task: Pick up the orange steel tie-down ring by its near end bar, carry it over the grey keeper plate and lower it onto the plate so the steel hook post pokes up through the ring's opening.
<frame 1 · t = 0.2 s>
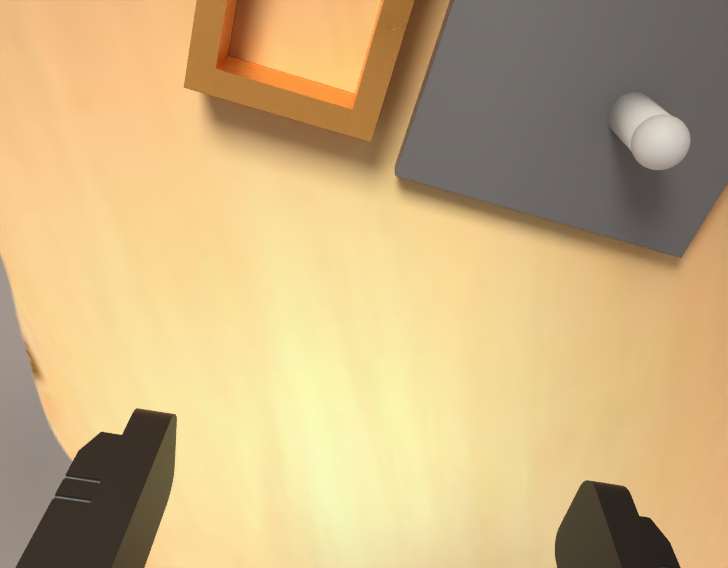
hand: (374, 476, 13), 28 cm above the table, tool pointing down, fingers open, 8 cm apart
keeper plate: (589, 95, 37), on the table
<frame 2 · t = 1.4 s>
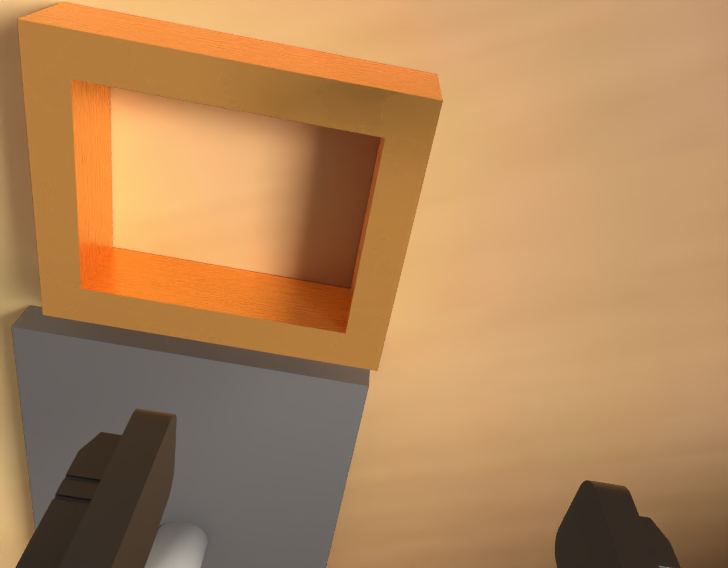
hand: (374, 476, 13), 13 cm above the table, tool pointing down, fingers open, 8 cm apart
keeper plate: (192, 484, 32), on the table
link ring: (240, 182, 24), on the table
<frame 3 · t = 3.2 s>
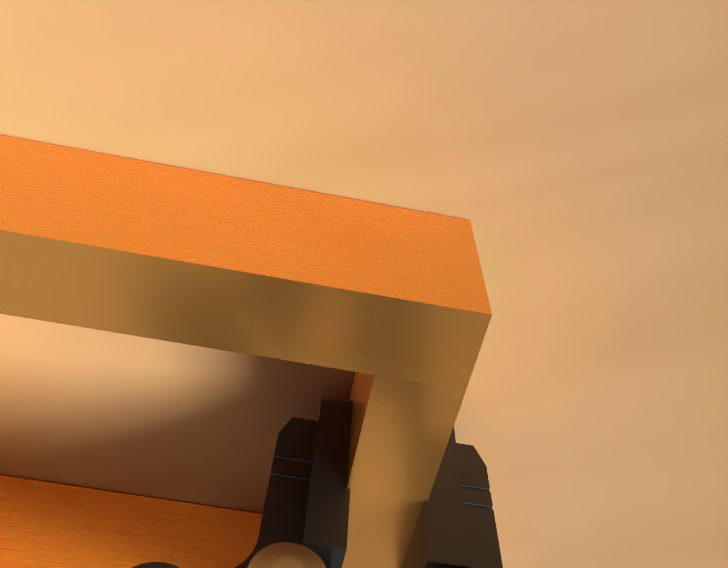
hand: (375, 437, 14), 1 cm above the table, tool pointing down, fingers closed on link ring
link ring: (131, 379, 14), on the table, touching gripper
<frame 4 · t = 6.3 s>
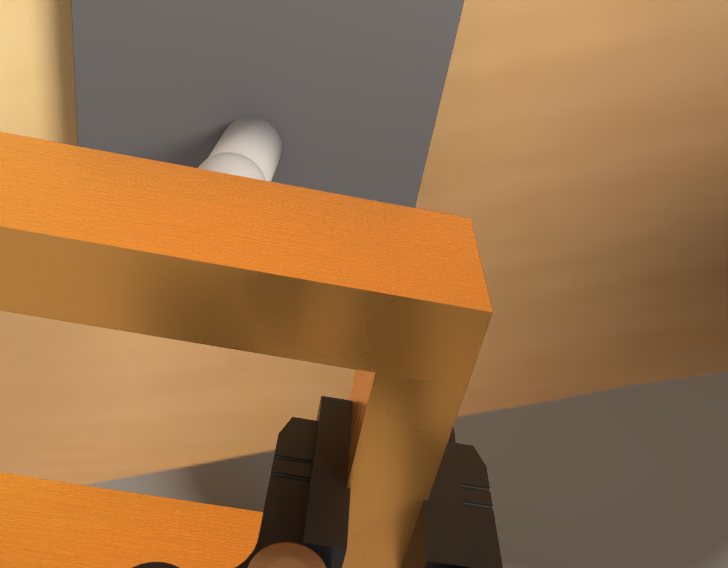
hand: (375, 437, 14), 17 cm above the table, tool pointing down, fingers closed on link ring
keeper plate: (263, 86, 27), on the table
link ring: (131, 377, 14), point 16 cm above the table, touching gripper
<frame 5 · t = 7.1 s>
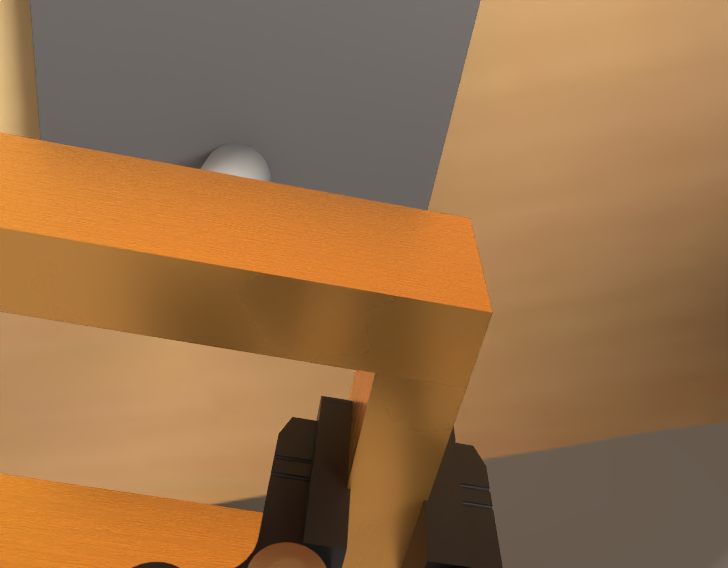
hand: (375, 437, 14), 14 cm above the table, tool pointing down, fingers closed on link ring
keeper plate: (250, 109, 24), on the table
link ring: (131, 378, 14), point 13 cm above the table, touching gripper
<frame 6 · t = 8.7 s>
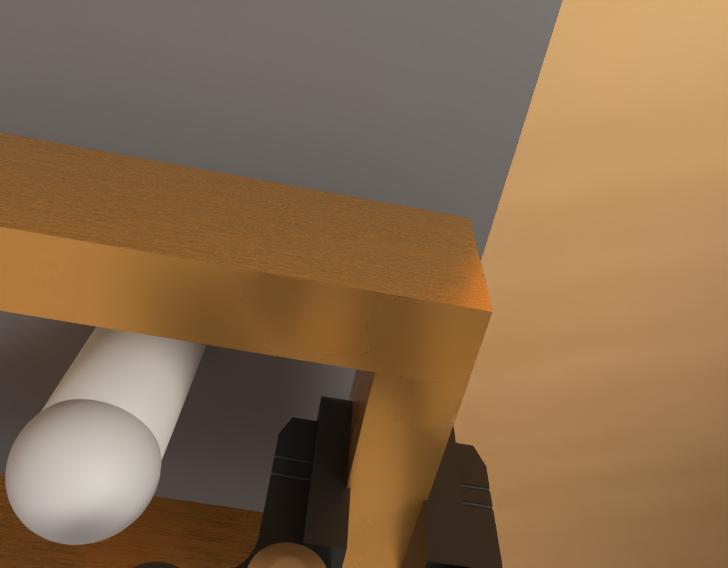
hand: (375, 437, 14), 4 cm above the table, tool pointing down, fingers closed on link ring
keeper plate: (179, 223, 16), on the table
link ring: (131, 377, 14), point 4 cm above the table, touching gripper
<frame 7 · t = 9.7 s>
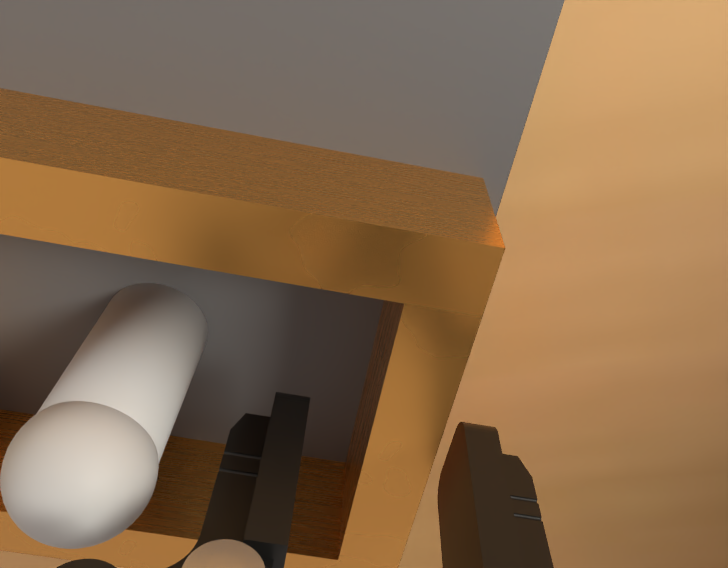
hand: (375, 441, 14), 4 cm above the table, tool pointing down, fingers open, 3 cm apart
keeper plate: (177, 223, 16), on the table
link ring: (178, 326, 16), point 1 cm above the table, touching keeper plate
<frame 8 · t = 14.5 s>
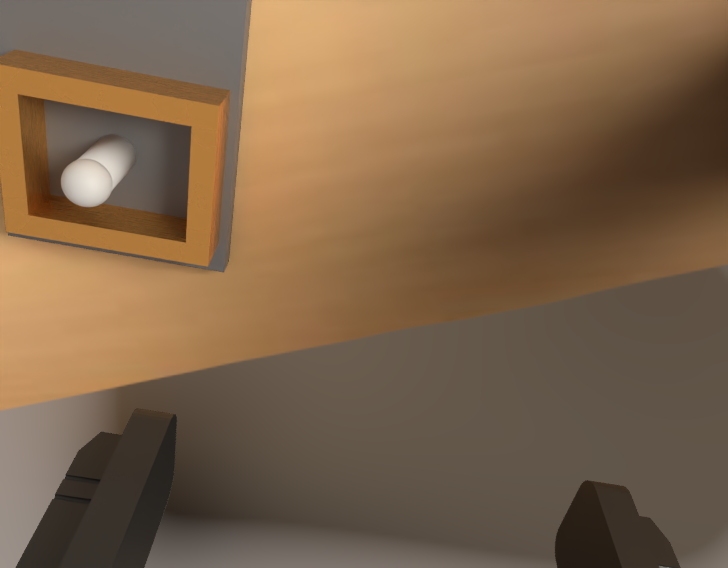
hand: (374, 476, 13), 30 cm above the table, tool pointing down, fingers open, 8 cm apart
keeper plate: (124, 113, 40), on the table
link ring: (124, 153, 40), point 1 cm above the table, touching keeper plate
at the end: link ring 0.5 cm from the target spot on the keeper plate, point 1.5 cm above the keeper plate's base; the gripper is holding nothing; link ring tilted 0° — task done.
